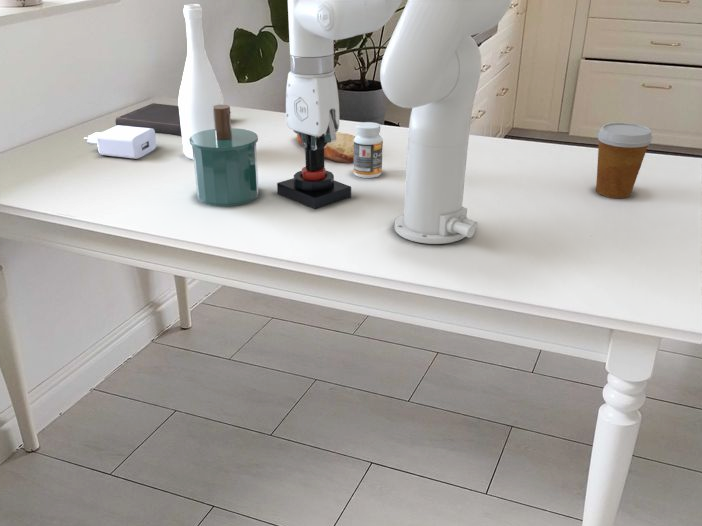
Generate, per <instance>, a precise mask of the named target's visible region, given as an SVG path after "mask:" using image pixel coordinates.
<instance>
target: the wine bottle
mask: <svg viewBox="0 0 702 526" xmlns="http://www.w3.org/2000/svg"><path fill="white" fill-rule="evenodd" d="M182 10H183V17H184V18H185V31H186V43H187V51H186V52H187V53H186V59H185V64H184V69H183V74H182V78H181V83H180V87H179V92H178V100H177V105H178V106H179V114H180V123H181V132H182V135H181V140H182V150H183V151H182V152H183V154H184V155H185V157H186V158H188V159H190V160H192V161H194V159H193V149H192V145H191V144H190V142H189V139H190V137H191V136H192V135H194V134H196V133H198V132H201V131H205V130H211V129H215V127H214V115H213V106H215V105H225V99H224V94H223V92H222V89H221V87H220V84H219V82H218V79H217V77H216V74H215V72H214V70H213V67H212V64H211V62H210V59H209V57H208V54H207V51H206V46H205V37H204V36H205V35H204V28H203V19H202V18H203V16H204V15H203V8H202V7H201V4H198V3H190V4H189V3H188V4H184V5H183V9H182Z"/></svg>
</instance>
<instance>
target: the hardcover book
mask: <svg viewBox="0 0 702 526" xmlns="http://www.w3.org/2000/svg"><path fill="white" fill-rule="evenodd" d="M231 113H232V112H231V111H230V114H231ZM117 125H120V126H131V127H141V128H152V129H154V130H155V133H160V134H161V133H162V134H167V135H176V136H182V132H181V123H180V114H179V105H173V104H166V103H165V104H164V103H155V102H152V103H150V104H147V105H145V106H142V107H140V108H137V109H135V110H133V111H130V112H127V113H125V114H122V115H119V116H118V117H116V118H115V126H117Z"/></svg>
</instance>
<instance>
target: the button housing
mask: <svg viewBox="0 0 702 526" xmlns="http://www.w3.org/2000/svg"><path fill="white" fill-rule="evenodd" d="M325 175H326V178H323V179H320V180H308V179H304V178H302V170H299V171H297V172H295V174H293V177H292V178H290V179H289V178H288V179H286V180H283V181H282V180H281V181H280V182H277V183H276V185H277V186H276V189H277V190H276V191H277V195H279V196H282V197H284V198H287V199H289V200H292V201H294V202H296V203H299V204H301V205H304V206H305V207H308V208H310V209H313V210H317V209H321V208H324V207H326V206H331V205H333V204H336V203H339V202H343V201H345V200H348V199H351V198H352V186H351V185H348V184H345V183H343V182H340V181H337V180H335V175H334V174H333V172H332V171H329V170H326V169H325Z"/></svg>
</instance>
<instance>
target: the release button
mask: <svg viewBox="0 0 702 526" xmlns="http://www.w3.org/2000/svg"><path fill="white" fill-rule="evenodd" d="M325 170H326V167H324V169H321V170H317V171H314V172H312V171H310V170H306V166H303V167H302V168H301V171H302V178H304V179H308V180H320V179H323V178H326V175H325Z"/></svg>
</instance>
